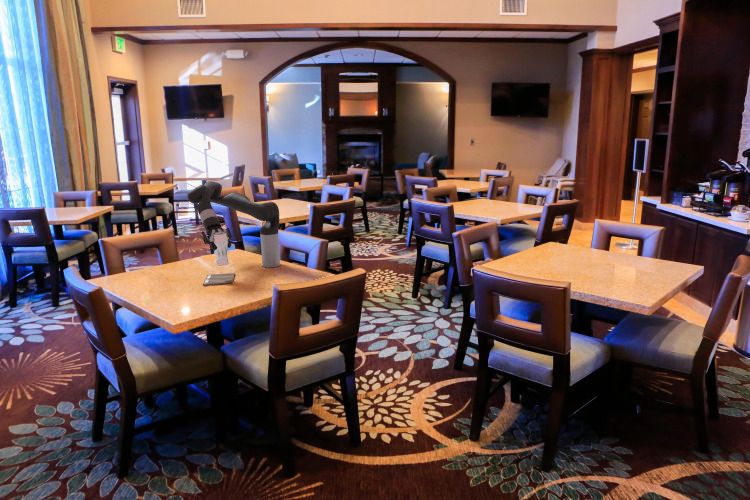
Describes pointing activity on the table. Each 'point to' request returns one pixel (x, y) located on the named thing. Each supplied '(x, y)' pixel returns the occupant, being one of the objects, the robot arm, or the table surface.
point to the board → (219, 279)
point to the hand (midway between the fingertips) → (222, 248)
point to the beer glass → (221, 248)
